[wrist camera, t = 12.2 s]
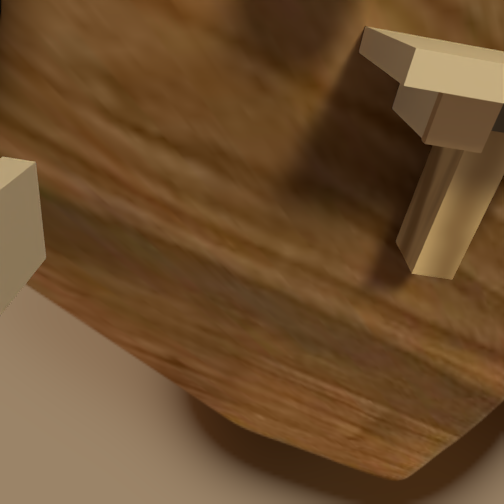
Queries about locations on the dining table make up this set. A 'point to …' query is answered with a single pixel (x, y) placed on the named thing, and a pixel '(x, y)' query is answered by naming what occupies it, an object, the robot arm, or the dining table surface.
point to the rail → (450, 204)
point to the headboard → (441, 86)
